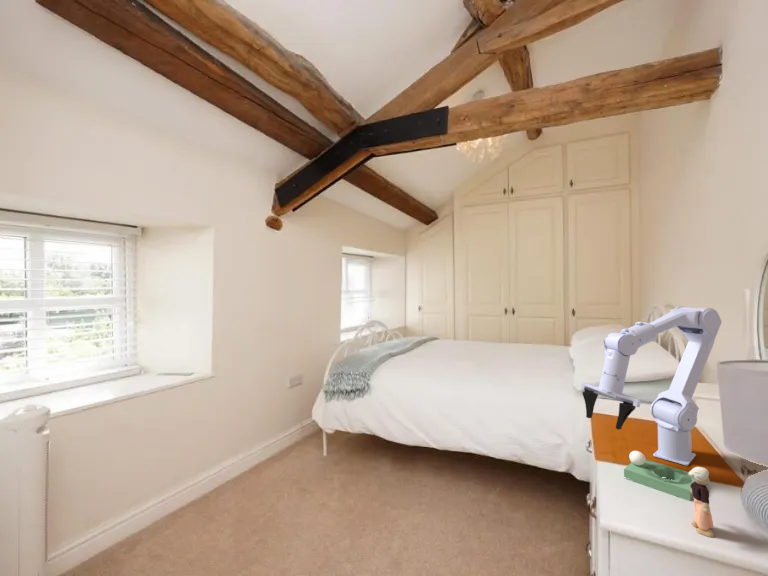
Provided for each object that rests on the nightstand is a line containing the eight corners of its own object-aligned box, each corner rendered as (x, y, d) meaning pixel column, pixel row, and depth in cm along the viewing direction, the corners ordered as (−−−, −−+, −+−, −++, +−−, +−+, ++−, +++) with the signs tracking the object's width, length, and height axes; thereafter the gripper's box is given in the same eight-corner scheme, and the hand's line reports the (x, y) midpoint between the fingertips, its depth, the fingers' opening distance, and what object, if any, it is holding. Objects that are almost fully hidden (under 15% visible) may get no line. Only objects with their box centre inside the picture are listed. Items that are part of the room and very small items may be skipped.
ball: (632, 460, 101) (631, 447, 101) (647, 465, 98) (647, 451, 98) (627, 464, 99) (626, 451, 99) (643, 469, 96) (642, 455, 96)
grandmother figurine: (725, 541, 73) (724, 477, 72) (702, 539, 73) (701, 475, 73) (700, 517, 80) (699, 459, 80) (680, 515, 81) (679, 457, 81)
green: (637, 465, 103) (637, 456, 103) (700, 485, 92) (700, 475, 92) (624, 478, 97) (624, 469, 97) (689, 500, 86) (689, 490, 86)
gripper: (580, 367, 107) (570, 413, 107) (638, 383, 96) (627, 434, 96) (590, 368, 112) (581, 412, 111) (647, 384, 100) (636, 433, 100)
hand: (603, 423), depth 104 cm, fingers open, 7 cm apart
